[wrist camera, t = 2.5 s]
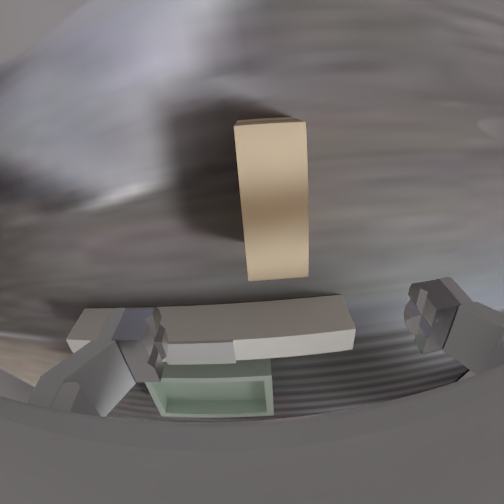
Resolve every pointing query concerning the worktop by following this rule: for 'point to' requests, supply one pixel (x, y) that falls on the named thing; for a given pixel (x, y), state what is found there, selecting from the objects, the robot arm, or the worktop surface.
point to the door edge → (240, 330)
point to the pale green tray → (215, 390)
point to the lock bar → (274, 196)
